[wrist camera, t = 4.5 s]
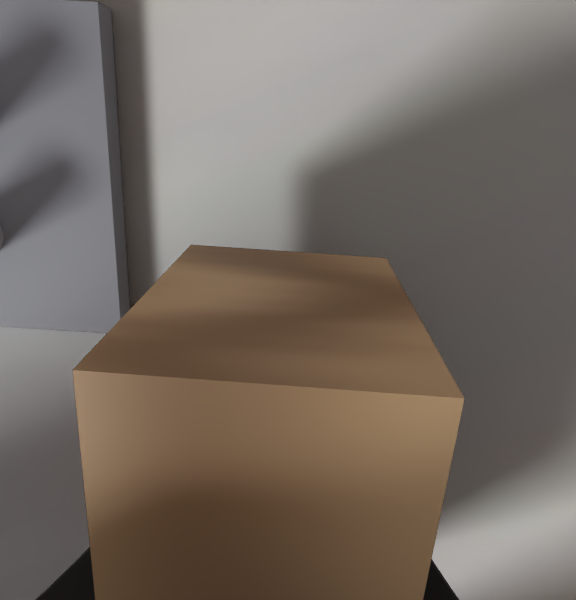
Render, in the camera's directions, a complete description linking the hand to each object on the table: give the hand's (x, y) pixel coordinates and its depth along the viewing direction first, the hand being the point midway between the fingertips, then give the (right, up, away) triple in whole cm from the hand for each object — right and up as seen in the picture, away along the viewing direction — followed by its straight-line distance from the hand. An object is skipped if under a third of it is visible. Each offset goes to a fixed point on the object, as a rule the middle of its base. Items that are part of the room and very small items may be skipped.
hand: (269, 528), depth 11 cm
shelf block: (0, +1, +2) cm, 2 cm away
